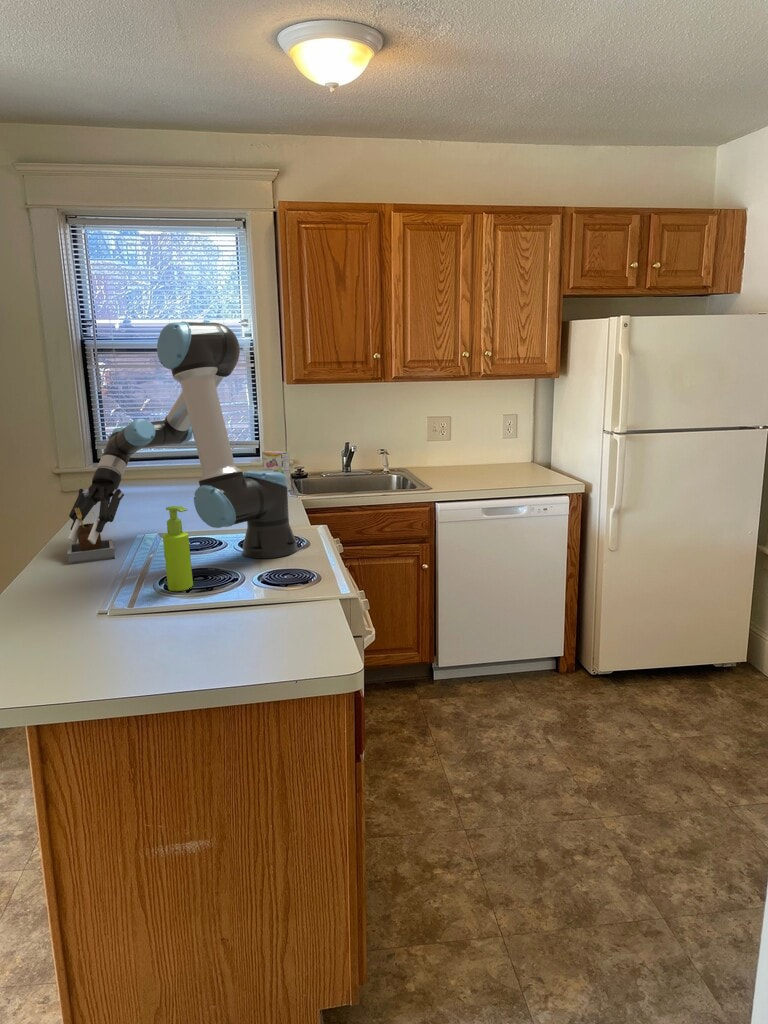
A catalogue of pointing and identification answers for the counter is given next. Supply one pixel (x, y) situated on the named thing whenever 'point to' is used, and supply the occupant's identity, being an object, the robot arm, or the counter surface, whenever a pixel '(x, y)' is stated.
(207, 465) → the robot arm
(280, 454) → the candy bar box
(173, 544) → the soap dispenser
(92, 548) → the utensil holder
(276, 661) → the counter surface
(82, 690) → the counter surface
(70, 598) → the counter surface
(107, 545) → the tray
